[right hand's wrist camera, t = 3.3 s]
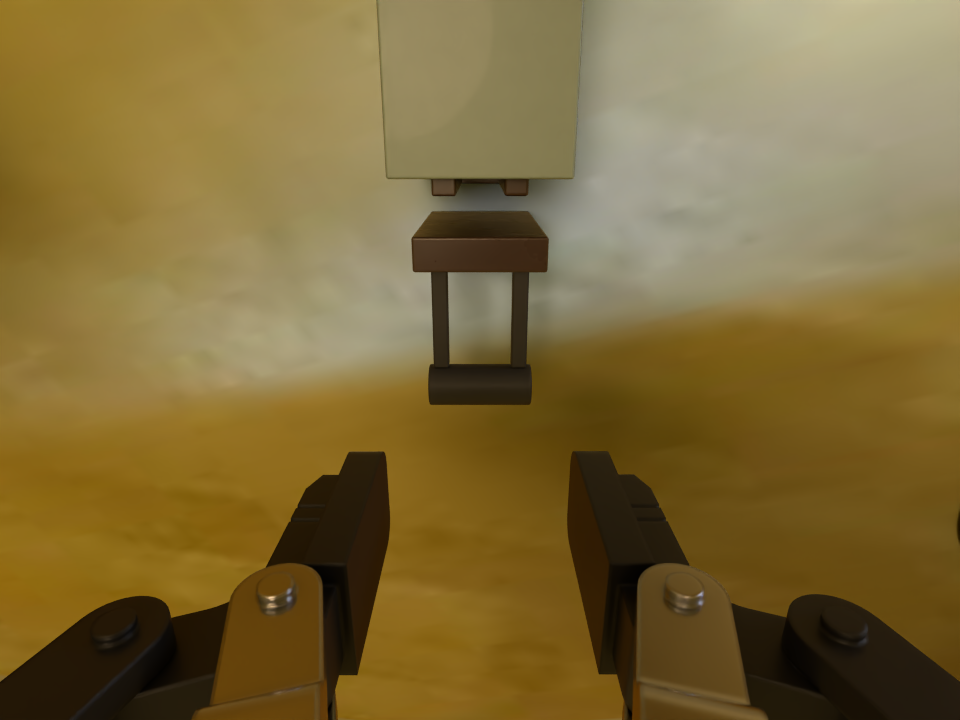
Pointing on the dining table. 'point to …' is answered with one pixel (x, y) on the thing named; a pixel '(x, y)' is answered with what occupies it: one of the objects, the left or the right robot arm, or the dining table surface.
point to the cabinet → (480, 88)
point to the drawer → (480, 248)
